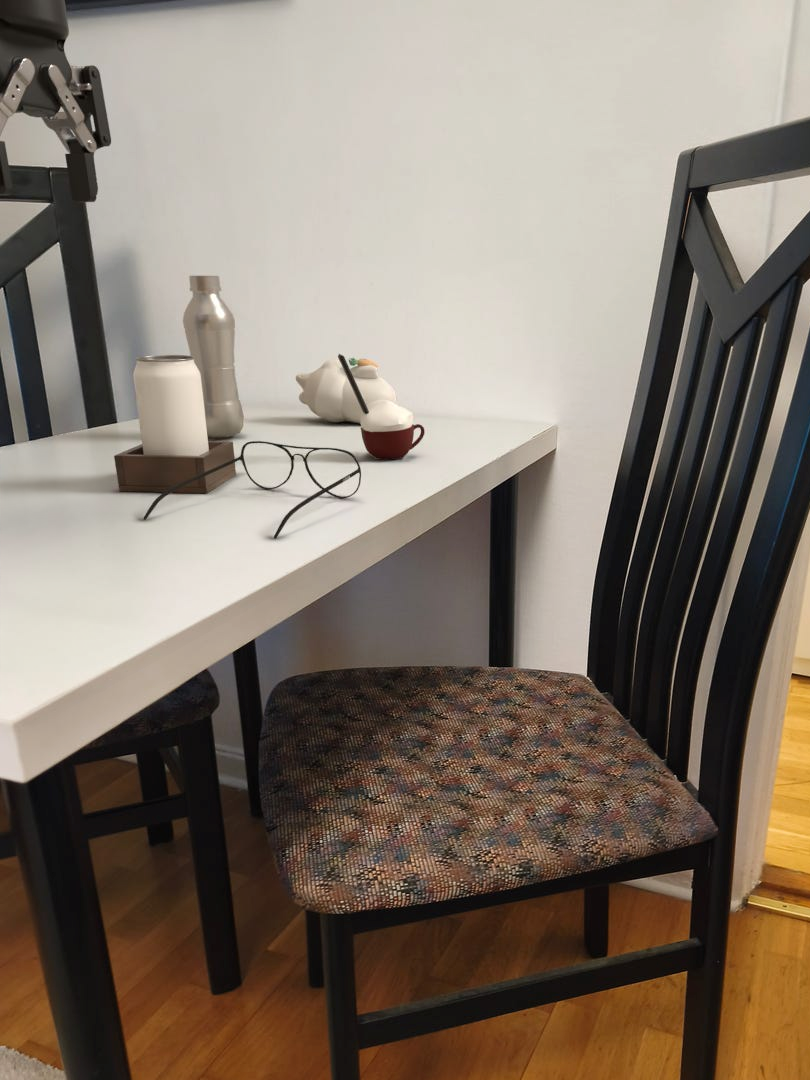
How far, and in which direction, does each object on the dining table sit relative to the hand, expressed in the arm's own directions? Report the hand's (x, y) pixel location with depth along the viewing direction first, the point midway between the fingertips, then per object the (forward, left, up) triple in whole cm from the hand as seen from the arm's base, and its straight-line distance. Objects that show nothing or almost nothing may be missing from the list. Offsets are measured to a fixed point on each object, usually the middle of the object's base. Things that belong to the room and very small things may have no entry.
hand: (44, 198), depth 74 cm
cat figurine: (+13, +53, -26) cm, 61 cm away
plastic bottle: (-1, +38, -26) cm, 46 cm away
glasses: (+16, +1, -26) cm, 31 cm away
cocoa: (+23, +27, -26) cm, 44 cm away
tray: (+4, +11, -26) cm, 29 cm away
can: (+4, +11, -26) cm, 28 cm away
